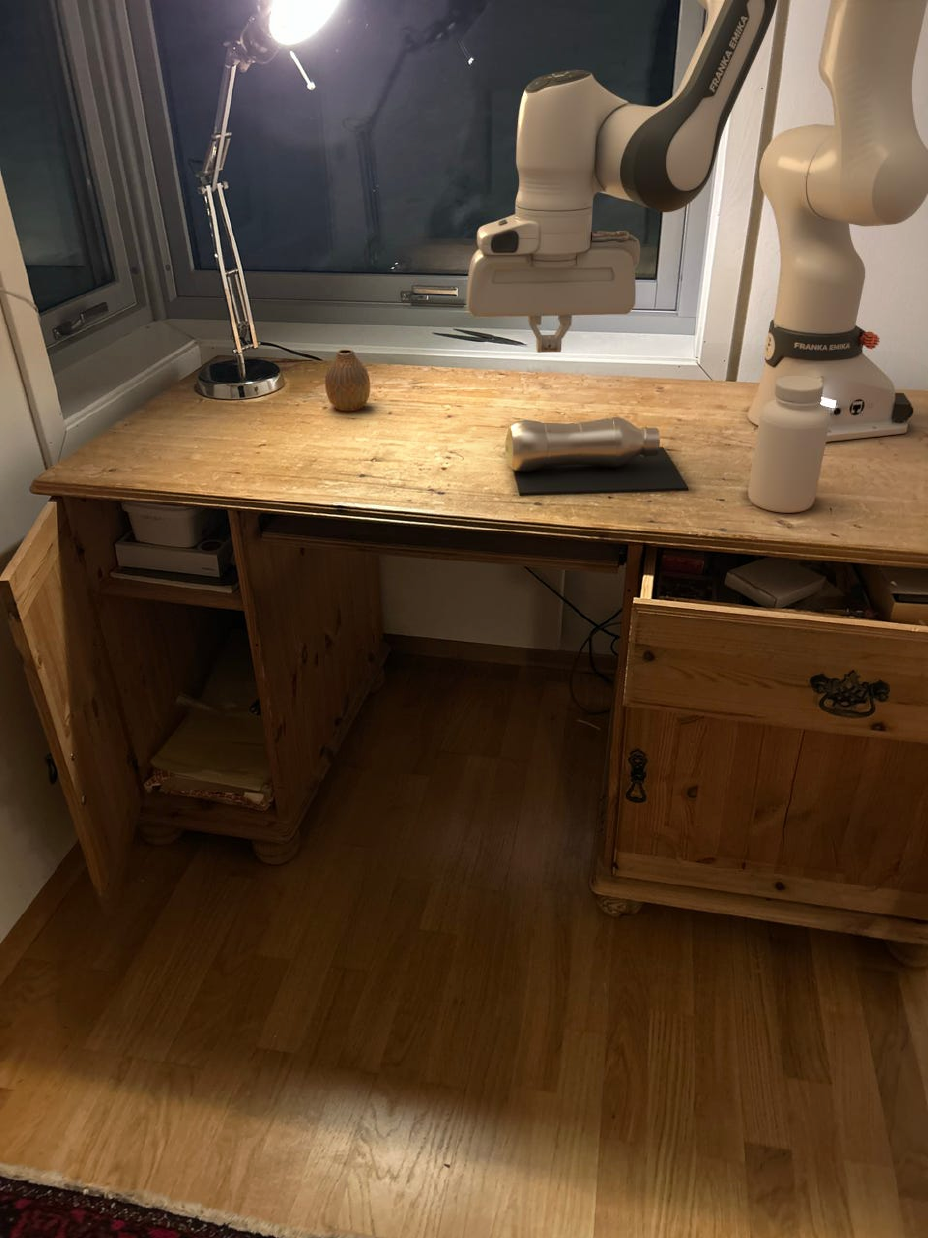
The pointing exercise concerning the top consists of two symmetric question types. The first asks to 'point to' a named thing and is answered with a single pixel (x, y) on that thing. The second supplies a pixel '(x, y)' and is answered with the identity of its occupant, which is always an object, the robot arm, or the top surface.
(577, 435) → the plastic bottle
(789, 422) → the pill bottle
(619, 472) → the mat
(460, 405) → the top surface
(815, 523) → the top surface
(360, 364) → the vase
